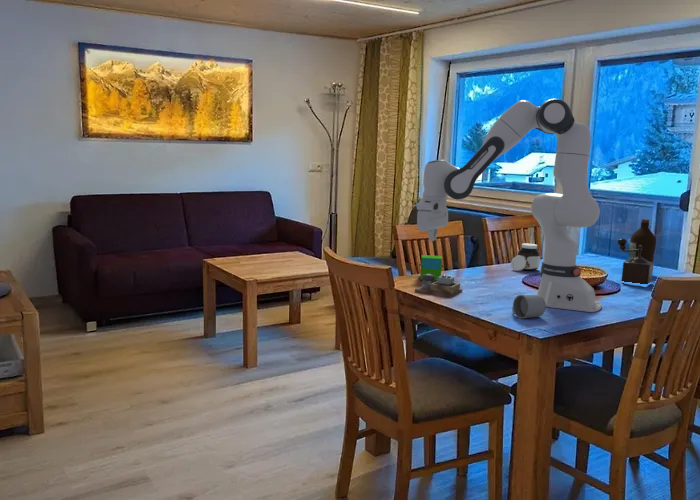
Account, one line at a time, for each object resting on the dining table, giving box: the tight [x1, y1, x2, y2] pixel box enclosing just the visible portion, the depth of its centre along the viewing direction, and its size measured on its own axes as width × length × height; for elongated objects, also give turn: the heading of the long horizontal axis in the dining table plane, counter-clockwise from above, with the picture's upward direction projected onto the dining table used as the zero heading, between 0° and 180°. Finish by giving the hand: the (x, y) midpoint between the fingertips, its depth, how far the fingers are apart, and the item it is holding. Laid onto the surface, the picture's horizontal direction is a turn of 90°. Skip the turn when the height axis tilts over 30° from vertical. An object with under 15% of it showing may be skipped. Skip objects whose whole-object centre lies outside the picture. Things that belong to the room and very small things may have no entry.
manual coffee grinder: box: [617, 238, 655, 284], centre depth 268 cm, size 16×11×18 cm
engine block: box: [436, 274, 455, 286], centre depth 238 cm, size 5×4×6 cm
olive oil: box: [628, 218, 657, 262], centre depth 287 cm, size 11×11×25 cm
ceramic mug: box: [511, 294, 547, 320], centre depth 210 cm, size 11×8×8 cm
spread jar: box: [510, 242, 541, 272], centre depth 288 cm, size 12×11×12 cm
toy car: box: [418, 254, 444, 282], centre depth 261 cm, size 10×13×10 cm
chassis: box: [414, 280, 463, 298], centre depth 239 cm, size 14×12×4 cm
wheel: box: [422, 274, 436, 282], centre depth 241 cm, size 5×5×5 cm
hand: (432, 240), depth 239 cm, fingers closed
